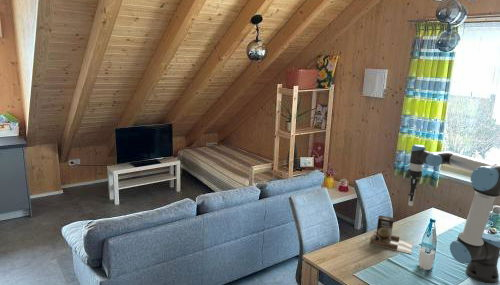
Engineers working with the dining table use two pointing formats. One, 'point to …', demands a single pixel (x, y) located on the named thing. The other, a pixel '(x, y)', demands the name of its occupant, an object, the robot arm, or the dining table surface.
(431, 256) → the white cup
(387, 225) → the coffee box
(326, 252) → the dining table surface
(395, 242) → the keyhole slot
